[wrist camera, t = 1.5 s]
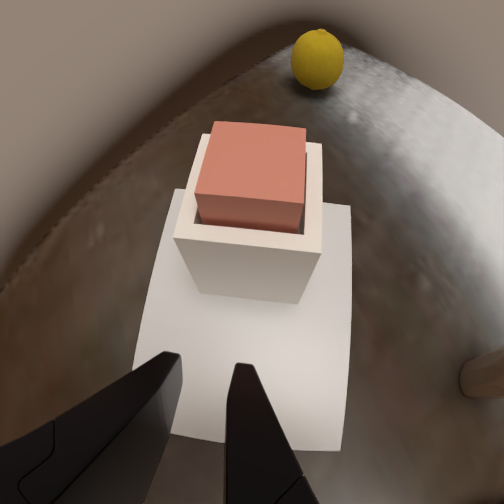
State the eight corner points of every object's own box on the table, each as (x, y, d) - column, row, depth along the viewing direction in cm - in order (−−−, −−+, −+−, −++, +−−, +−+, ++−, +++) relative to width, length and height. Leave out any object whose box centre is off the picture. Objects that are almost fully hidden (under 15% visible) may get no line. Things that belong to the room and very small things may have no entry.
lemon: (346, 96, 32) (360, 38, 24) (308, 109, 30) (318, 44, 23) (316, 72, 34) (324, 17, 26) (279, 83, 32) (282, 23, 25)
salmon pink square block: (295, 238, 15) (303, 203, 12) (204, 229, 15) (194, 193, 13) (299, 168, 17) (305, 128, 14) (219, 160, 17) (214, 121, 14)
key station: (337, 449, 17) (388, 479, 9) (128, 420, 18) (58, 429, 10) (347, 211, 25) (380, 134, 17) (177, 194, 26) (151, 114, 18)
